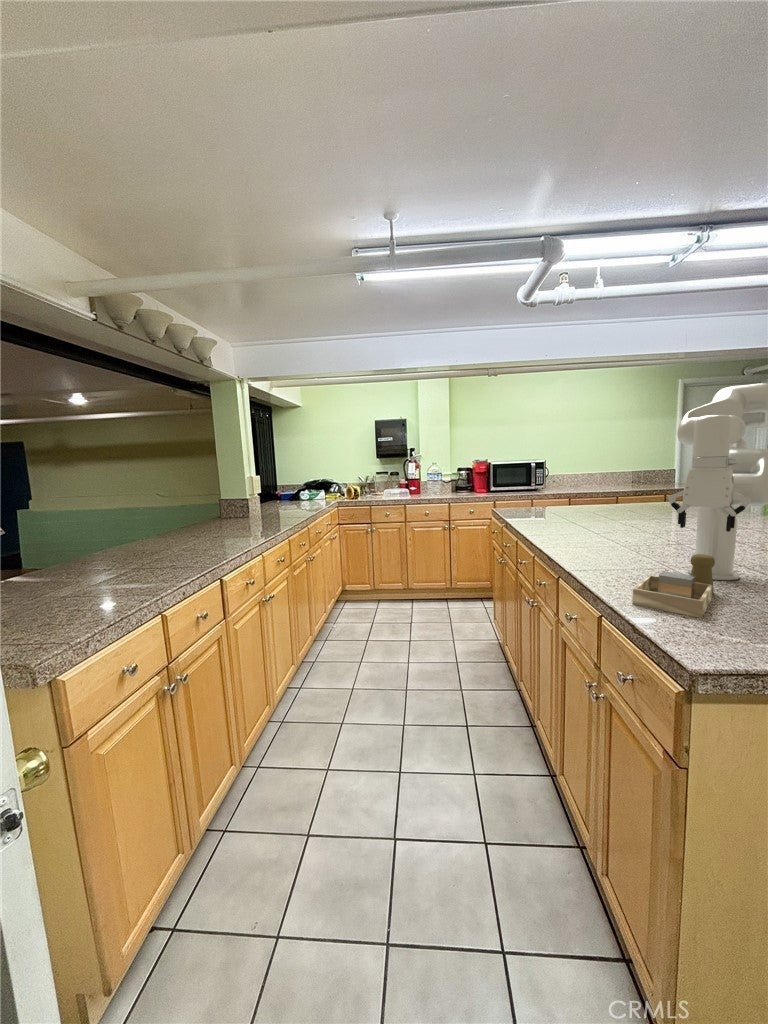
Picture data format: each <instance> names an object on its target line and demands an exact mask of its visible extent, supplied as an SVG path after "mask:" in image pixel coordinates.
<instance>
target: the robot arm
mask: <svg viewBox="0 0 768 1024" xmlns="http://www.w3.org/2000/svg"><path fill="white" fill-rule="evenodd" d="M763 428H768V383H767V382H763V383H762V382H759V383H751V384H743V385H733V386H728V387H724V388H721V389H720V390H719V391H717V392H716V393H715V394H714V396H713V397H712V400H711V401H710V402H709V403H707V404H703V405H701V406H698V407H696V408H693V409H691V410H689V411H688V412H686V413H685V414H684V415H683V417H682V419H681V420H680V423H679V424H678V428H677V433H676V434H677V435H676V436H677V439H678V441H679V442H680V444H682V445H684V446H692V457H691V468H689V469H688V470H687V473H686V476H685V477H686V478H685V481H684V482H685V483H684V487H683V490H680V491H678V492H676V493H673V494H670V495H668V496H667V500H668V502H669V504H670V506H671V507H672V508H673V509H674V510H675V511H676V513H678V515H677V524H678V525H679V528H681V529H683V528H685V527H686V525H687V523H686V522H687V512H686V510H687V509H688V508H689V507H692V508H697V518H696V519H697V521H696V537H695V549H694V550H695V551H694V555H695V554H705V555H710V556H712V557H713V558H714V559H715V565H714V566H713V567H712V577H713V580H716V581H718V580H719V581H734V580H738V579H740V576H741V575H740V573H739V572H738V571H734V566H735V565H734V564H735V554H736V542H737V532H738V531H737V530H738V529H737V528H738V520H737V516H738V515H739V514H740V513H742V512H743V511H745V510H746V508H747V507H763V506H766V505H768V449H767V448H746V446H747V443H746V440H744V438H743V437H744V435H745V433H746V429H763ZM679 497H680V498H681V497H682V505H680V504H679V503H678V502H677V500H676V499H677V498H679ZM733 506H738V507H736V508H734V507H733ZM692 567H693V566H689V567H688V568H687V573H688V574H689V575H691V571H692Z"/></svg>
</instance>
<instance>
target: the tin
mask: <svg viewBox="0 0 768 1024" xmlns="http://www.w3.org/2000/svg"><path fill="white" fill-rule="evenodd" d="M658 576H659V581H658V593H663V594H669V595H675V596H680V597H686V598H691V599H693V598H694V591H695V576H694V575H691V574H687V573H679V572H674V571H672V572H671V571H666V570H663V571H661V572H660V573H659V574H658Z"/></svg>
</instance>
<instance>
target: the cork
mask: <svg viewBox="0 0 768 1024" xmlns="http://www.w3.org/2000/svg"><path fill="white" fill-rule="evenodd" d="M690 564H691V567H692V571H691V574H690V575H694V576H695V582H697V583H704V584H710V585H713V586H714V579H713V577H712V567H713V566H714V565H715V559H714V558H713V557H712V556H710V555H705V554H695V553H694V554H693V555H691V557H690ZM713 596H715V592H714V587H713V588H712V597H713Z"/></svg>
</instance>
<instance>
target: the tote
mask: <svg viewBox="0 0 768 1024" xmlns="http://www.w3.org/2000/svg"><path fill="white" fill-rule="evenodd" d="M658 581H659V575H657V576H656V575H653V574H652V575H651V574H648V575H647V576H646V577H645V578H643V580H642V581H641V582H639V583H638V584H637V585H636V586H635V587H634V588H633V589H632V605H636V606H641V607H645V608H651V609H656V610H660V611H665V612H670V613H674V614H675V613H676V614H679V615H686V616H690V617H695V618H700V619H702V618H703V616H704V614H705V613H706V611H707V609H708V607H709V605H710V603H711V602H712V598H713V596H712V588H713V589H714V584H713V585H710V584H704V583H697V582H695V591H694V598H693V599H691V598H686V597H680V596H675V595H669V594H663V593H658Z"/></svg>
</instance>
